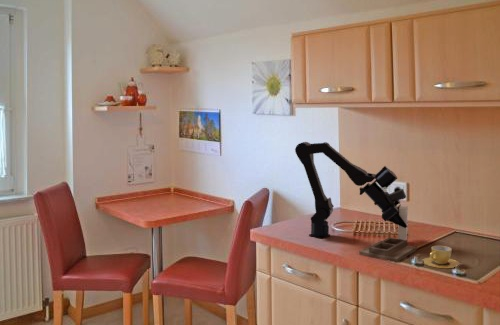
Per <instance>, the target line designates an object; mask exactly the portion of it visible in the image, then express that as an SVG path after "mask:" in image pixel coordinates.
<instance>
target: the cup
mask: <svg viewBox="0 0 500 325" xmlns="http://www.w3.org/2000/svg"><path fill="white" fill-rule="evenodd" d="M452 250H453V249H452V247H449V246H445V245H433V246H431V252H430V253H429V256H428V257H425V258H423V259H422V260H424V263H423V264H424V265H425V266H429V267H434V268H437V269H438V268H440V269H455V268H456V267H455V266H456V265H457V264H460V262H459V261H457V260H455V259H452V258H451V256H452ZM433 262H435V263H436V264H435V263H433ZM448 263H449V264H448ZM438 264H439V265H438ZM447 264H448V265H447ZM454 267H455V268H454Z"/></svg>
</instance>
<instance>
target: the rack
mask: <svg viewBox="0 0 500 325" xmlns="http://www.w3.org/2000/svg"><path fill="white" fill-rule="evenodd" d="M417 250H418V247H417V246H413V245H408V239H407V240H402V239H398V238H395V237H387V238H384V239H383V240H379V241H378V242H375V243H374V244H372V245H370V246H368V247H365V248H363V249H362V250H359V254H358V255H360V256H365V257H369V258H375V259H380V260H383V259H384V261H388V260H390V261H389V262H393V261H395V262H394V263H397V262H399V261H401V260H402V259H404V258H406V257H408V256H409V255H411V254H413V253H414V252H416V251H417Z"/></svg>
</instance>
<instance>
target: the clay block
mask: <svg viewBox="0 0 500 325" xmlns="http://www.w3.org/2000/svg"><path fill="white" fill-rule="evenodd" d="M408 213H409V207H408V206H407V205H401V206H400V207H399V215H400V216H401V218H402V219H403V220H404V222H405V223H406V225H407V227H406V228H404V227H402V226H399V225H398V233H397V234H398V236H397V239H402V240H407V241H408V224H407V222H408V215H409V214H408Z"/></svg>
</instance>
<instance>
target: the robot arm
mask: <svg viewBox="0 0 500 325" xmlns="http://www.w3.org/2000/svg"><path fill="white" fill-rule="evenodd" d="M294 150H295V151H294V152H295V155H296V156H297V158H298V159H299V162H301V164H302V165H303V167H304V170H305V173H306V176H307V179H308V182H309V186H310V188H311V191H312V194H313V198H314V207H315V213H314V214H313V215H312V216H311V217H310V222H311V225H310V227H311V228H310V229H311V230H310V232H311V233H309V234H308V237H313V238H316V239H324V238H327V237H331V234H330V232H329V230H330V228H329V221H328V218H330V216H332V214H333V212H334V206H335V205H334V204H333V202H332V198H331V197H327V196H326V194H325V192H324V189H323V185H322V183H321V180H320V177H319V174H318V171H317V169H316V165H315V161H314V160H315V159H314V156H315V154H321V153H322V154H323V155H324V156H326V157H327V158H328V159H330V160H331V161H332V162H333V163H334V164H336V165H337V166H338V167H339V168H340V169H341V170H342V171H344V172H345V173H346V175H347V176H348V178H349V179H350V180H351V182H352V183H353V184H354V185H356V186H357V187H360V186H361V187H360V188H359V195H360V196H362V195H363V194H364V193H365V194H366V195H367V196H368V198H370V199H371V201H373V204H374V206H377V207H378V208H379V209H380V210H381V218H382V220H383V221H384V222H390V223H393V224H395V225H397V226H398V227H399V226H402V227H404V228H406V227H407V228H408V225H409V221H407V225H406V223H405V222H404V220H403V219H402V218H401V216H400V215H399V207H400V206H402V205H401V201H400V200H404V199H406V198H407V195H406V192H405V190H404V188H400V187H398V186H397V187H395V188H394V191H393V192H391V193H389V192H388V191H385V190H383V188H386V189H387V188H388V187H390V186H391V185H392V184H393V183H394V182H395V181H396V180H397V179H398V176H397V175H396V173H394V171H392V170H391V169H389V168H388V167H387V166H386V165H384V166H383V167H382V168H381V169H380V170H379V171H378V172H377V173H370V172H368V171H366V170H365V169H363V168H362V167H360V166H358V165H356V164H354V163H352V162H350V161H349V159H347V158H346V157H345V156H343V155H342V154H341V153H340V152H339V151H338V150H336V149H335V148H334V147H333V146H332V145H330V144H329V142H326V141H325V142H318V143H310V142H308V141H303V142H300V143H298V144H297V145H296V146H295V148H294ZM362 186H363V187H362Z"/></svg>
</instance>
